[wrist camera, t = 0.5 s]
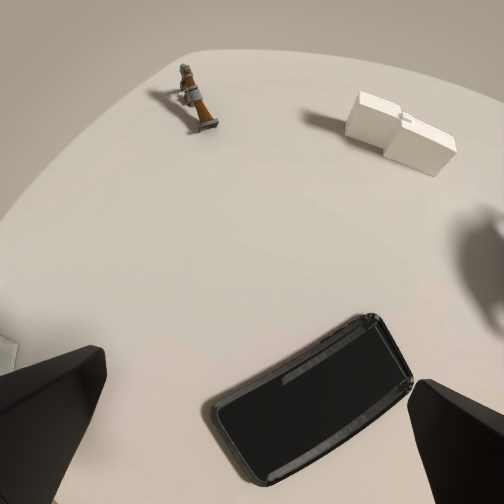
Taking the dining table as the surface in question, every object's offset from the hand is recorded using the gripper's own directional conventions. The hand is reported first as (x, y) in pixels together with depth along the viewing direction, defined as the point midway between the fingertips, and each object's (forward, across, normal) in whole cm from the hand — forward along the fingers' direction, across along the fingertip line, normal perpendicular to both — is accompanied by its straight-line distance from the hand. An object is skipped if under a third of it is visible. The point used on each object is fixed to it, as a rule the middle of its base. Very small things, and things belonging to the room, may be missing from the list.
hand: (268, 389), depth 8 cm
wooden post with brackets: (+26, +8, -12) cm, 30 cm away
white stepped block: (+27, -14, -12) cm, 32 cm away
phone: (+12, -6, +10) cm, 16 cm away
